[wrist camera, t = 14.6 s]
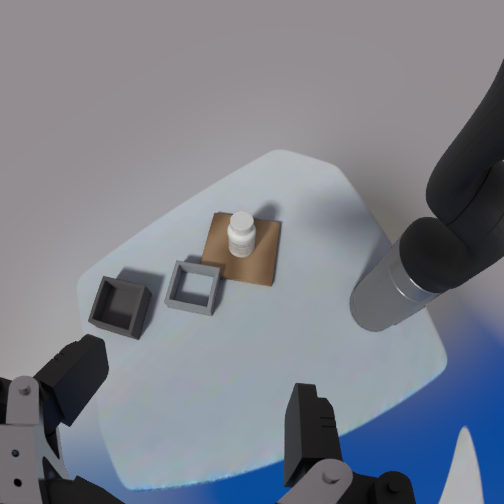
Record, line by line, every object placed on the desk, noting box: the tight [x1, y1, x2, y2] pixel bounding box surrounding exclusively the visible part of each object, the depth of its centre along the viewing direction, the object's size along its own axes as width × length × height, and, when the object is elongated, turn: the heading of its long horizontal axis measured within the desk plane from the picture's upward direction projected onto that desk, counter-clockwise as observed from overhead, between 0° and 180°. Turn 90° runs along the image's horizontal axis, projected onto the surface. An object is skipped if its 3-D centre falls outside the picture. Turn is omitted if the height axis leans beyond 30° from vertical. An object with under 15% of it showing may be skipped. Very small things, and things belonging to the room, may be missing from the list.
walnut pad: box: [200, 213, 280, 286], centre depth 48 cm, size 12×12×1 cm
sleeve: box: [164, 260, 220, 316], centre depth 43 cm, size 7×7×2 cm
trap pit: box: [88, 276, 151, 340], centre depth 40 cm, size 8×8×4 cm
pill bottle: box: [227, 211, 256, 258], centre depth 44 cm, size 4×4×8 cm
